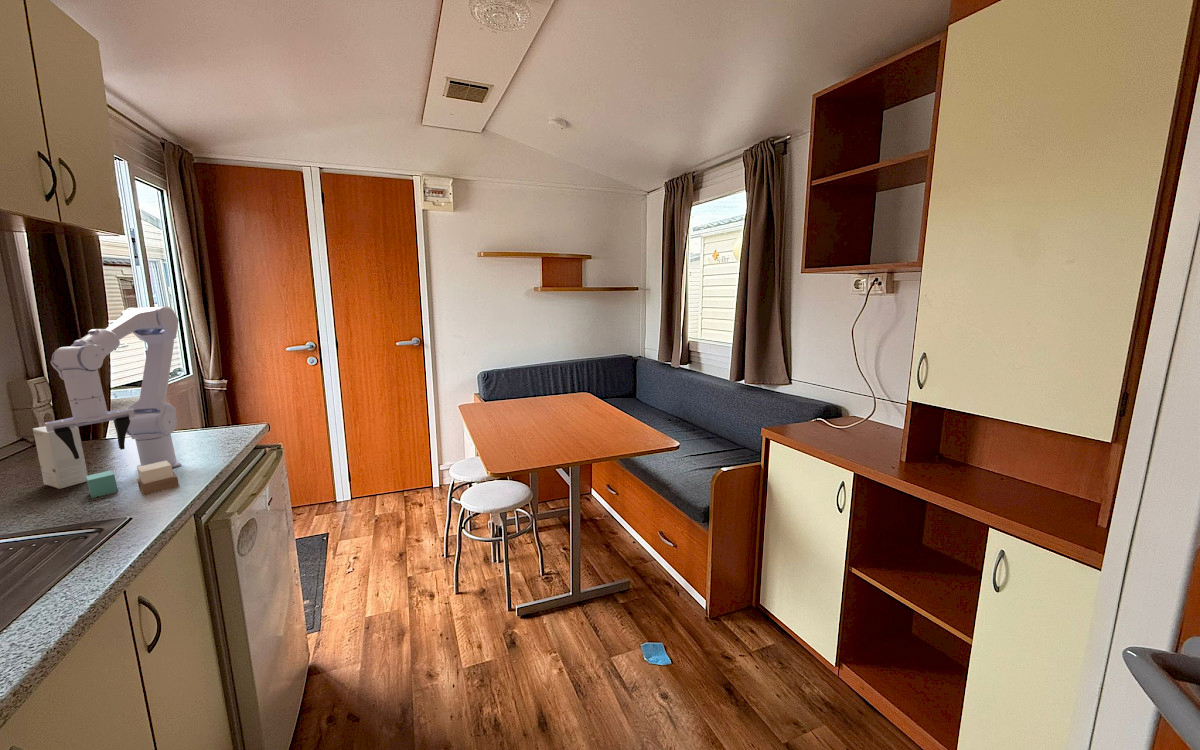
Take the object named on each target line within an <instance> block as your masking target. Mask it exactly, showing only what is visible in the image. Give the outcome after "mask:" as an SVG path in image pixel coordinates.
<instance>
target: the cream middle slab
mask: <svg viewBox="0 0 1200 750" xmlns="http://www.w3.org/2000/svg"><path fill="white" fill-rule="evenodd" d="M136 469H137V474H138V479H140V480H141V481H142V483H143V484H146V483H150V482H154V481H158V480H162V479H166V478H170V477H174V476H173V473H174V471H173V467H172V466H171V464H170V463H169V462H168V461H167V460H166V461H161V462H157V463H153V464H148V465H144V466H140V467H137V466H136Z"/></svg>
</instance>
